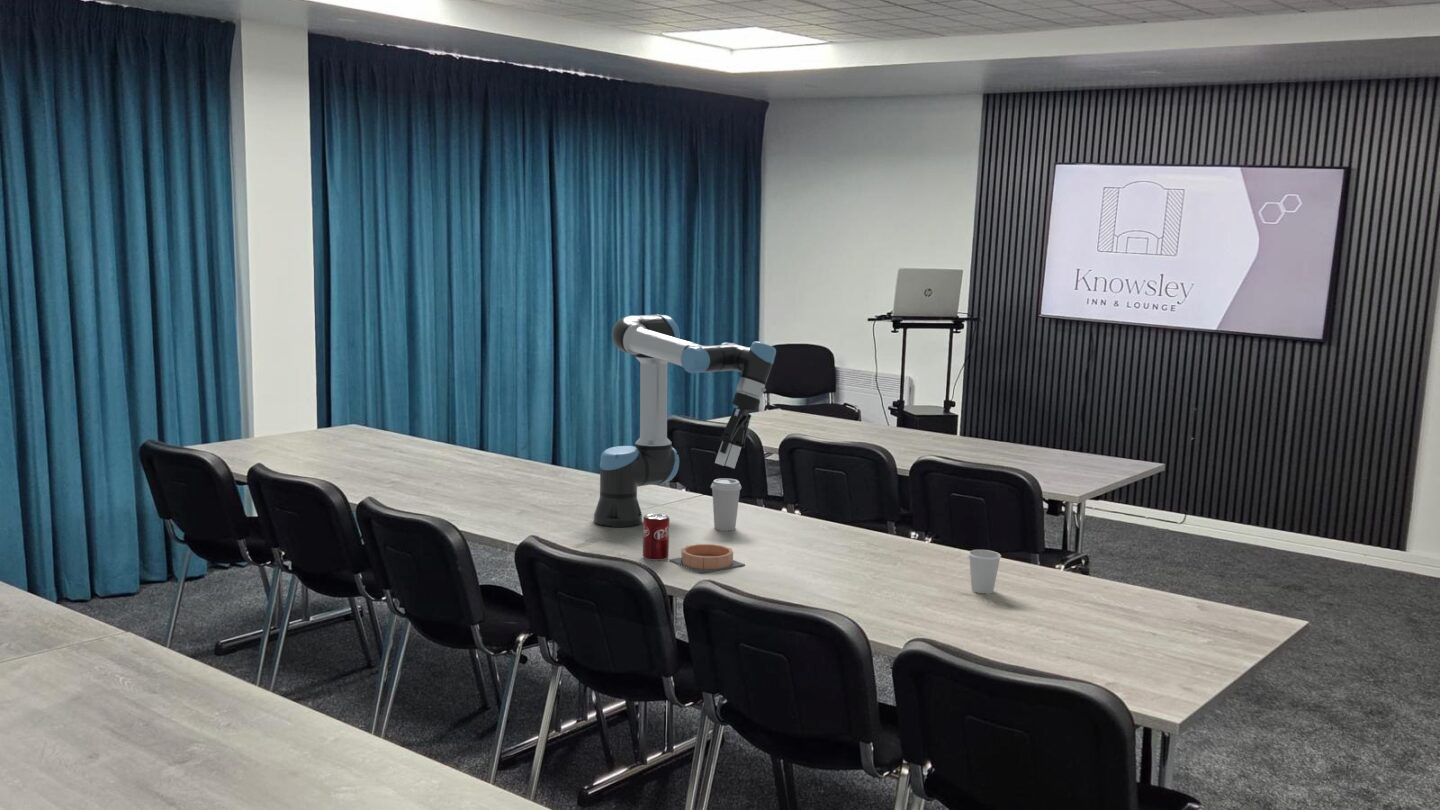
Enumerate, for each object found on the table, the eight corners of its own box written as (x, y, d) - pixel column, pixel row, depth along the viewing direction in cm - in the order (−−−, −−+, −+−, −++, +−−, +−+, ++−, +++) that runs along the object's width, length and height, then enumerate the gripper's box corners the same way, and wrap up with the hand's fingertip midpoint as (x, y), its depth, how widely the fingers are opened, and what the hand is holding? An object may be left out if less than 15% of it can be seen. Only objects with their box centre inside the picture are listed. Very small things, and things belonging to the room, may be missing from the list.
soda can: (672, 556, 335) (673, 514, 334) (662, 562, 329) (663, 520, 327) (648, 553, 338) (649, 512, 336) (638, 559, 331) (639, 517, 329)
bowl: (669, 560, 331) (669, 548, 330) (711, 553, 340) (712, 541, 339) (701, 573, 319) (701, 560, 318) (744, 565, 328) (745, 553, 327)
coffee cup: (737, 533, 364) (738, 485, 362) (706, 530, 366) (708, 482, 364) (742, 525, 373) (744, 479, 371) (713, 523, 375) (714, 477, 373)
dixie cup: (963, 585, 316) (965, 548, 314) (995, 586, 315) (997, 550, 314) (969, 594, 307) (971, 557, 306) (1001, 596, 307) (1004, 558, 306)
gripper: (751, 394, 326) (727, 467, 326) (768, 403, 351) (745, 472, 350) (726, 386, 328) (702, 459, 328) (745, 396, 352) (722, 464, 352)
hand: (724, 465), depth 339 cm, fingers open, 13 cm apart
